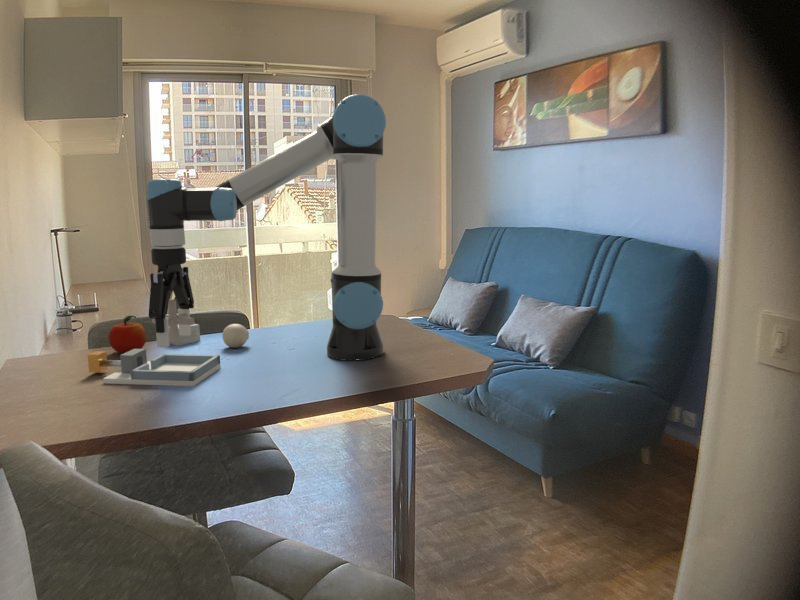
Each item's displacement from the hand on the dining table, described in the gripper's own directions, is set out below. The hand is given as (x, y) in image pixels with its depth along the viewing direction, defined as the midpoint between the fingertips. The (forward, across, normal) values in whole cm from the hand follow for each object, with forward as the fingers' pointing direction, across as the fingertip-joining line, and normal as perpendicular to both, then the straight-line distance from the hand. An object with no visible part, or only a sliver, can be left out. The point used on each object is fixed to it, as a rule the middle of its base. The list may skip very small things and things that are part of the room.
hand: (174, 340), depth 150 cm
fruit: (+9, -20, -24) cm, 33 cm away
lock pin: (+8, 0, -16) cm, 18 cm away
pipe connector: (0, 0, 0) cm, 0 cm away
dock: (+9, 0, -3) cm, 9 cm away
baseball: (+9, -28, +4) cm, 30 cm away
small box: (+9, -33, -15) cm, 38 cm away
